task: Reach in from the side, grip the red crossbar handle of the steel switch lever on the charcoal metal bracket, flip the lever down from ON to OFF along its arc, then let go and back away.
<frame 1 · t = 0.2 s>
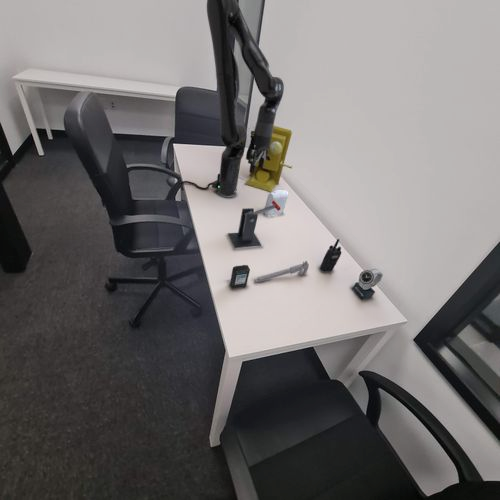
hand: (256, 170, 120), 17 cm above the table, tool pointing down, fingers open, 8 cm apart
lever: (261, 211, 99), point 14 cm above the table, hinge at 22.0°
watch: (361, 293, 94), on the table
caliper: (280, 277, 93), on the table
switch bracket: (244, 241, 106), on the table
two-way radio: (324, 269, 101), on the table
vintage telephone: (258, 183, 151), on the table
ink cartridge: (237, 286, 86), on the table
photo printer: (273, 214, 127), on the table
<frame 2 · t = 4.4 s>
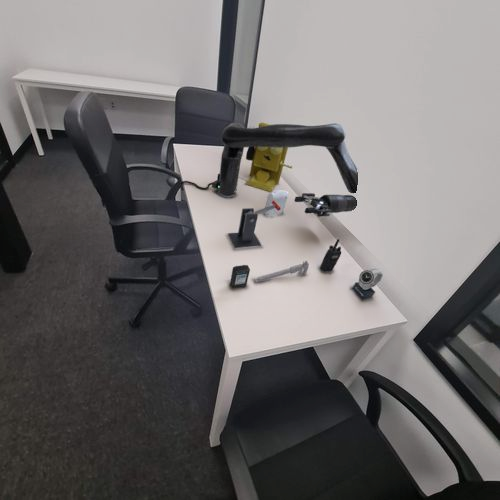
hand: (300, 204, 104), 16 cm above the table, tool horizontal, fingers open, 8 cm apart
nothing on the table moved.
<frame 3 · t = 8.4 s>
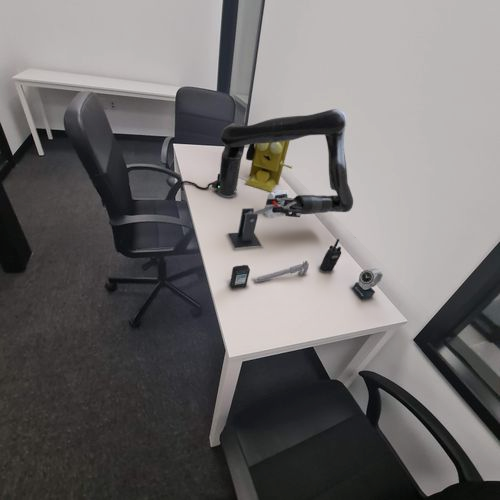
hand: (269, 205, 98), 16 cm above the table, tool horizontal, fingers closed on lever, 5 cm apart
lever: (261, 211, 99), point 14 cm above the table, hinge at 22.0°, touching gripper
everything else where it was.
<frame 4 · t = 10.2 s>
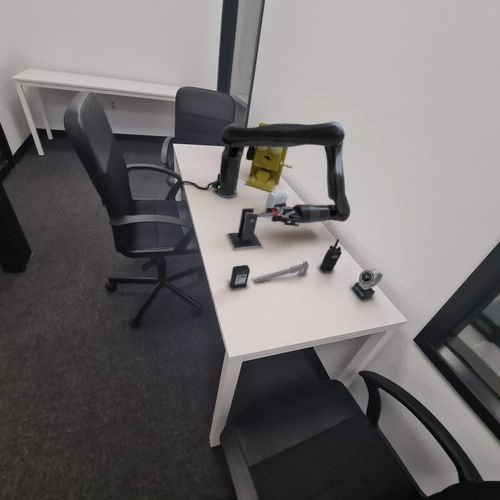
hand: (269, 214, 101), 12 cm above the table, tool horizontal, fingers closed on lever, 5 cm apart
lever: (261, 215, 100), point 12 cm above the table, hinge at 1.8°, touching gripper
everything else where it was.
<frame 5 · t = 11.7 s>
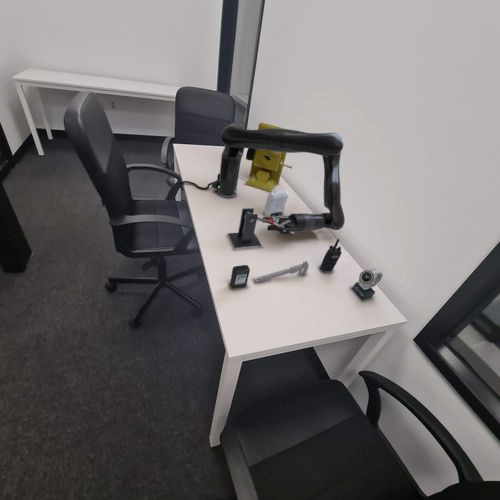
hand: (265, 223, 103), 8 cm above the table, tool horizontal, fingers closed on lever, 5 cm apart
lever: (260, 219, 101), point 10 cm above the table, hinge at -19.5°, touching gripper
everything else where it was.
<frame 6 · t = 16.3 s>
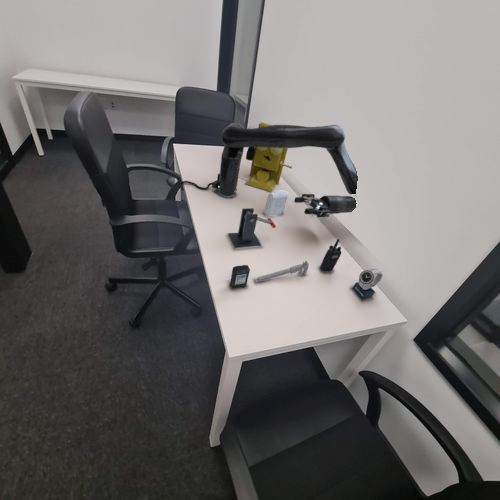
hand: (300, 205, 104), 16 cm above the table, tool horizontal, fingers open, 8 cm apart
lever: (260, 219, 101), point 10 cm above the table, hinge at -20.5°
everything else where it was.
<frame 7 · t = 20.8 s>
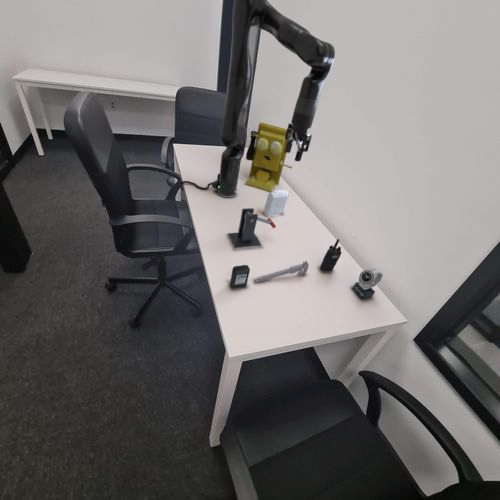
hand: (292, 156, 104), 30 cm above the table, tool pointing down, fingers open, 8 cm apart
nothing on the table moved.
at the end: lever at -20° (first picture: +22°); the gripper is holding nothing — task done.
